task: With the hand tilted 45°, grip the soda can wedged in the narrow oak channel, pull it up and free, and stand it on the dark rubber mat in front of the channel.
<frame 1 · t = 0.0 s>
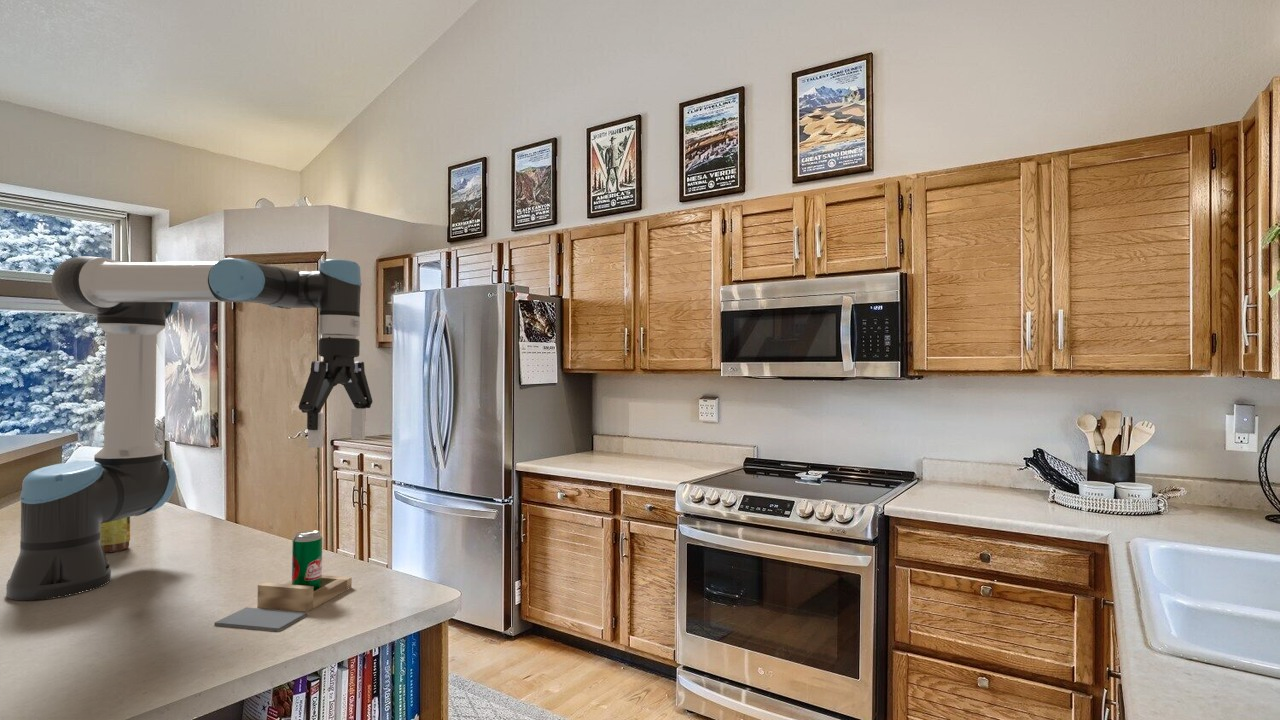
hand: (337, 443, 132), 28 cm above the counter, tool pointing down, fingers open, 13 cm apart
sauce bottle: (112, 550, 152), on the counter
soda can: (306, 598, 124), resting in oak channel
rubber mat: (261, 620, 112), on the counter
oak channel: (306, 597, 124), on the counter
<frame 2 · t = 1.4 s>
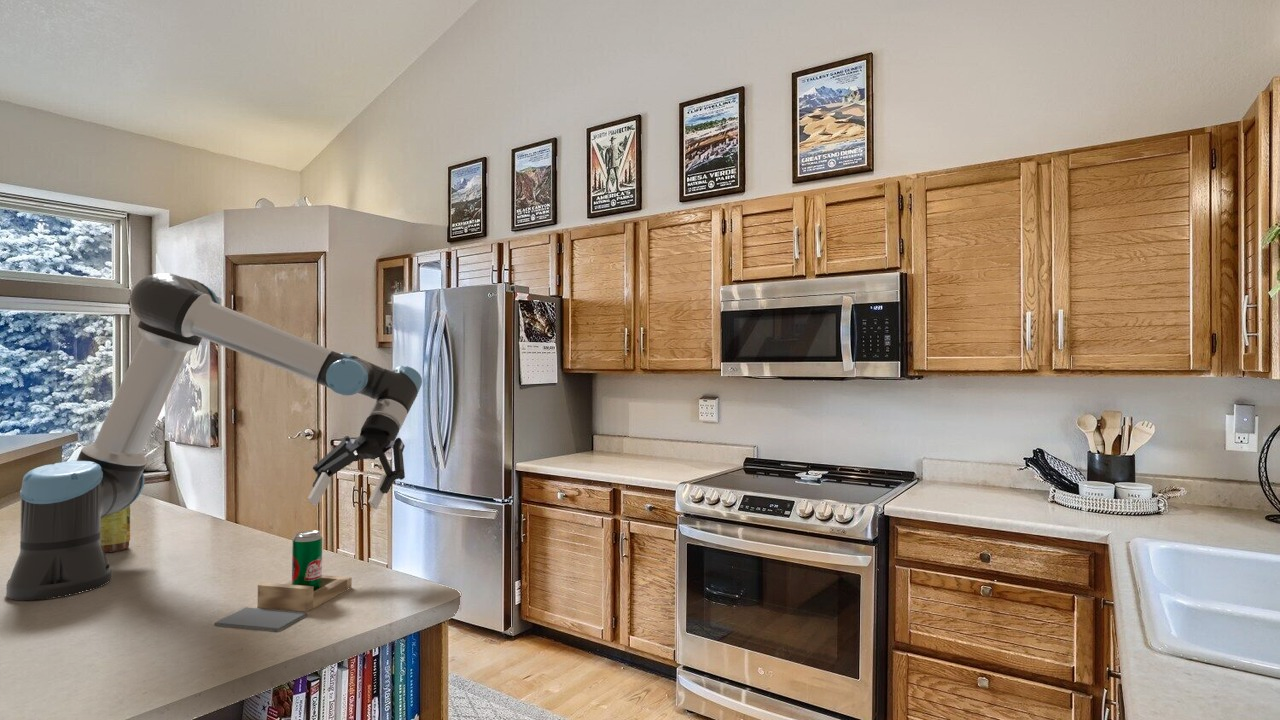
hand: (341, 503, 134), 15 cm above the counter, tool tilted 45°, fingers open, 13 cm apart
nothing on the counter moved.
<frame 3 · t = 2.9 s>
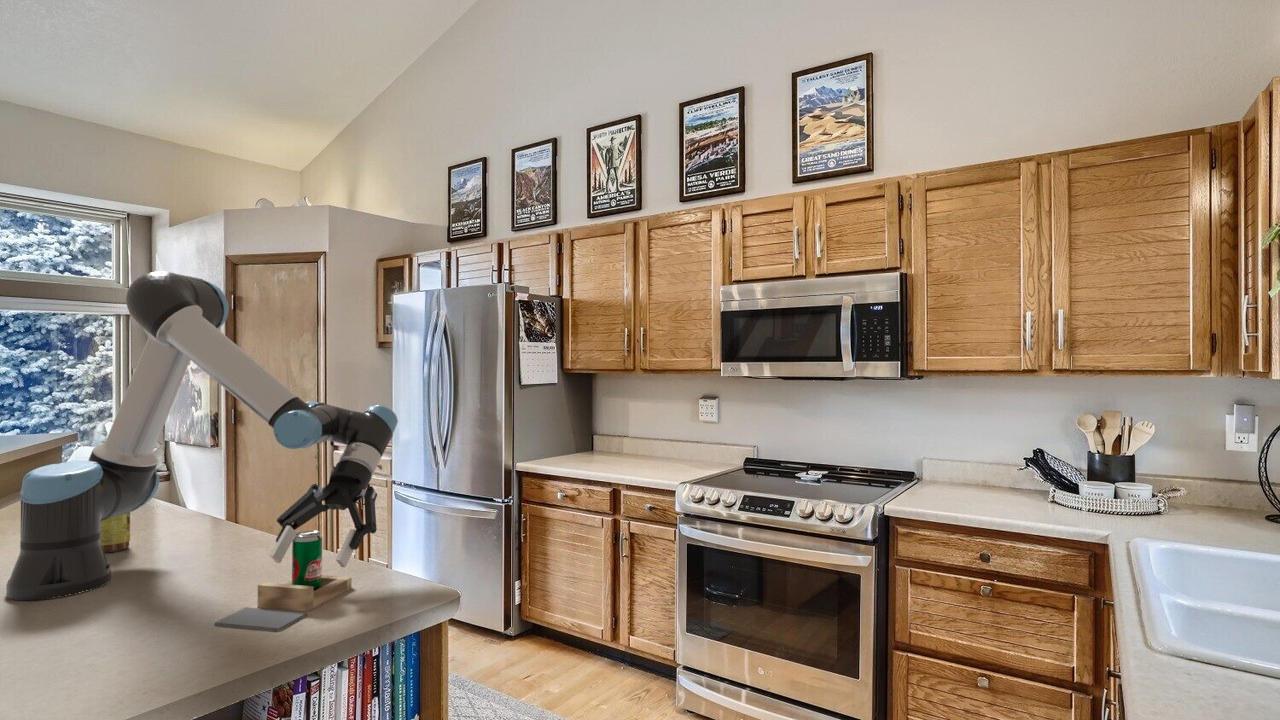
hand: (307, 561, 124), 7 cm above the counter, tool tilted 45°, fingers open, 13 cm apart
nothing on the counter moved.
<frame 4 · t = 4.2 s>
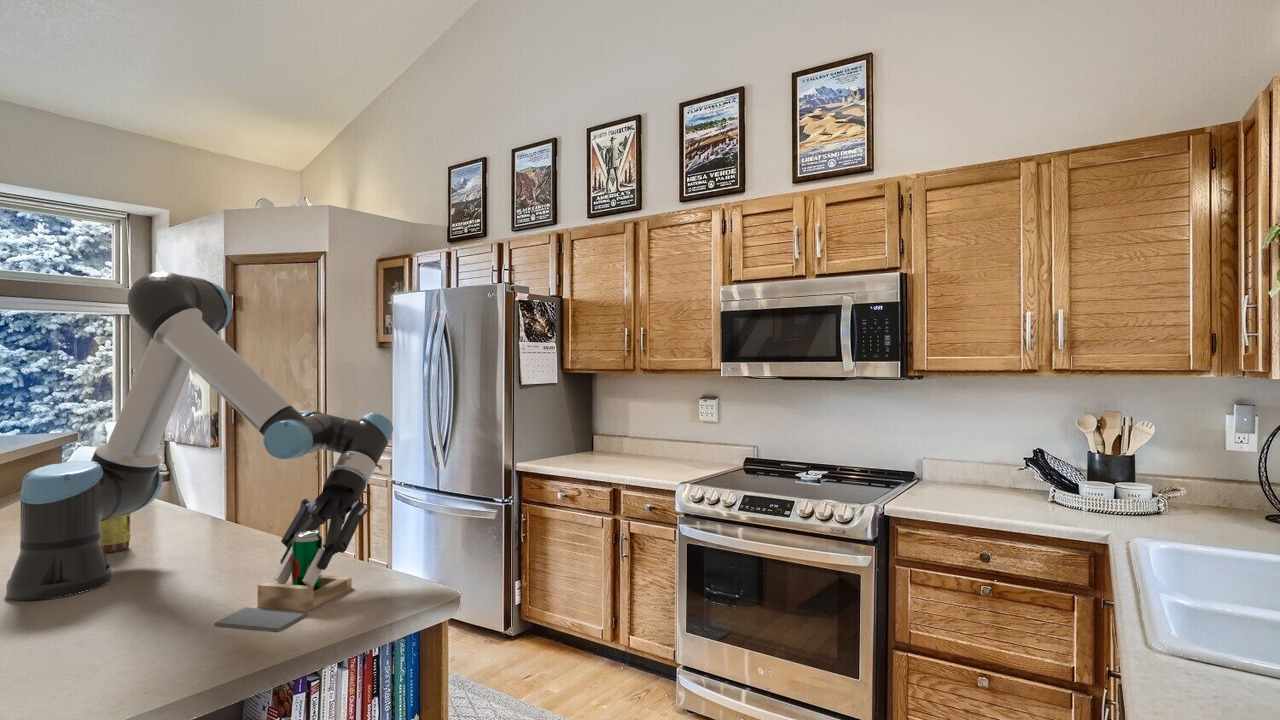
hand: (293, 583, 120), 4 cm above the counter, tool tilted 45°, fingers closed on soda can, 5 cm apart
soda can: (306, 598, 124), resting in oak channel, touching gripper
everything else where it was.
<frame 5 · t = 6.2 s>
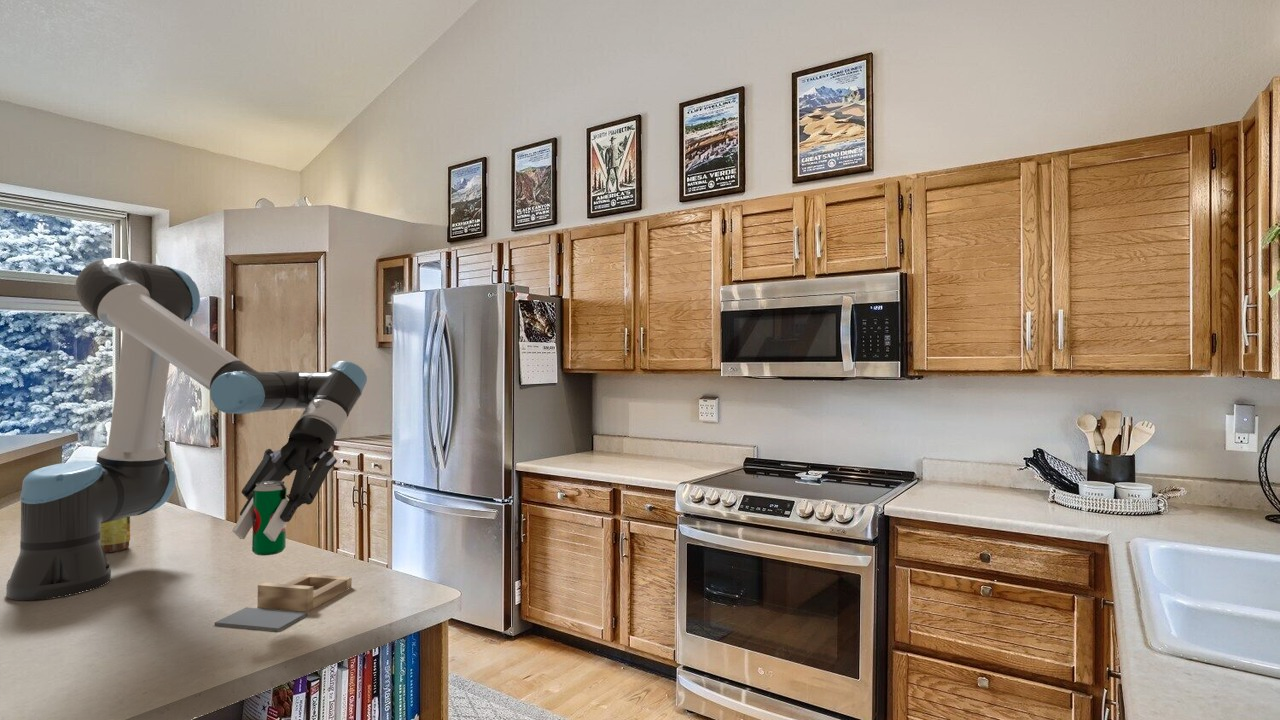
hand: (253, 535, 110), 15 cm above the counter, tool tilted 45°, fingers closed on soda can, 5 cm apart
soda can: (268, 553, 114), point 11 cm above the counter, touching gripper
everything else where it was.
when the fingers open (6 cm above the counter, at t = 8.3 s): soda can drops 1 cm, resting on rubber mat.
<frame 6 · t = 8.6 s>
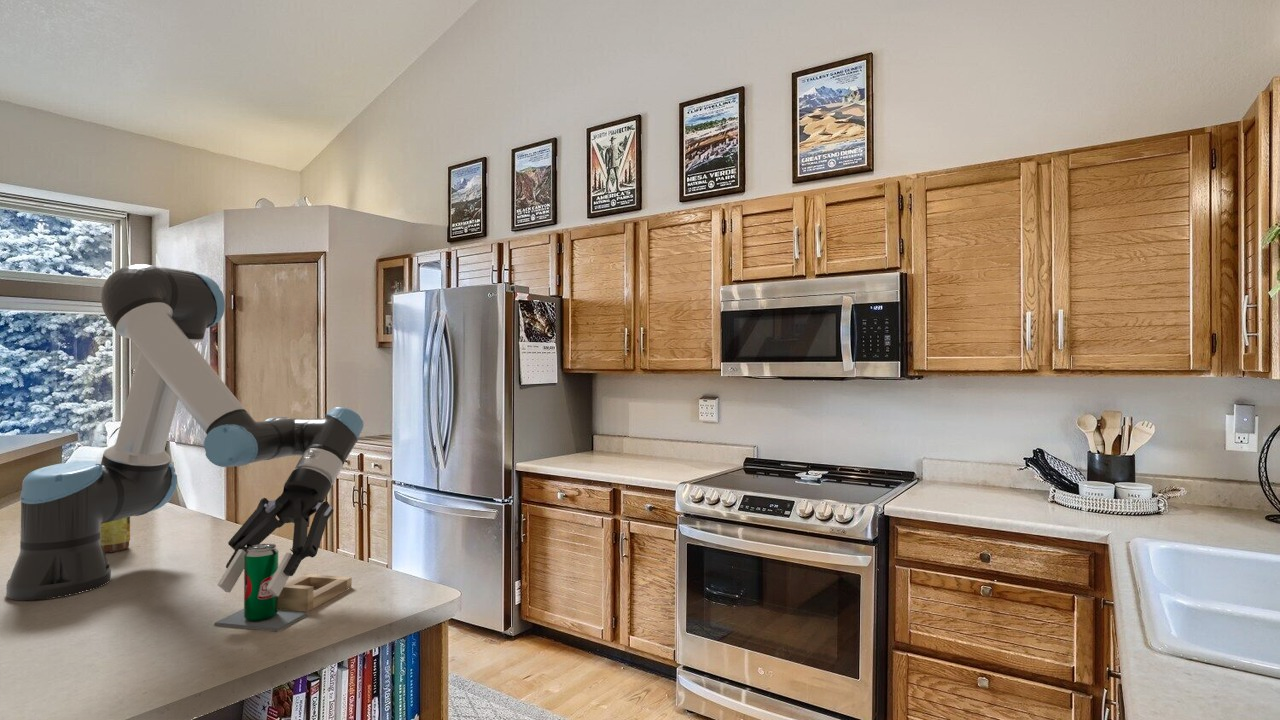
hand: (247, 590, 109), 6 cm above the counter, tool tilted 45°, fingers open, 8 cm apart
soda can: (261, 618, 113), resting on rubber mat
everything else where it was.
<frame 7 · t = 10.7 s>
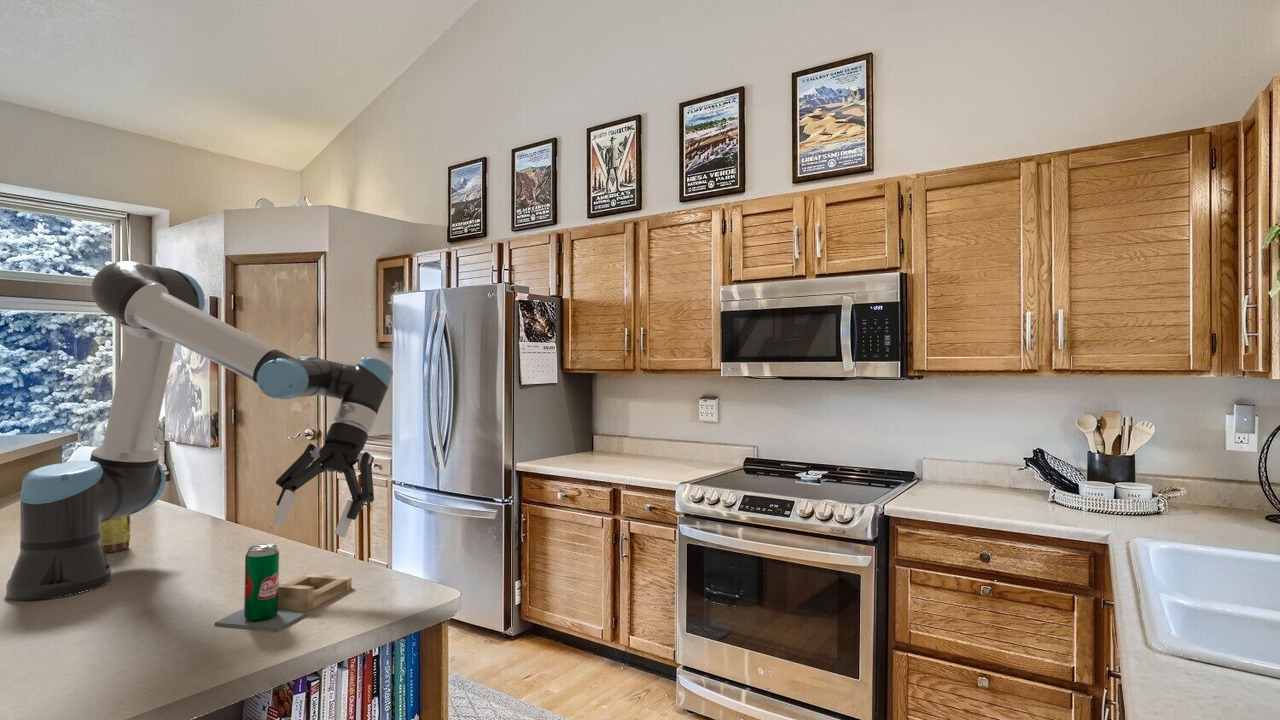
hand: (307, 529, 126), 12 cm above the counter, tool tilted 30°, fingers open, 13 cm apart
nothing on the counter moved.
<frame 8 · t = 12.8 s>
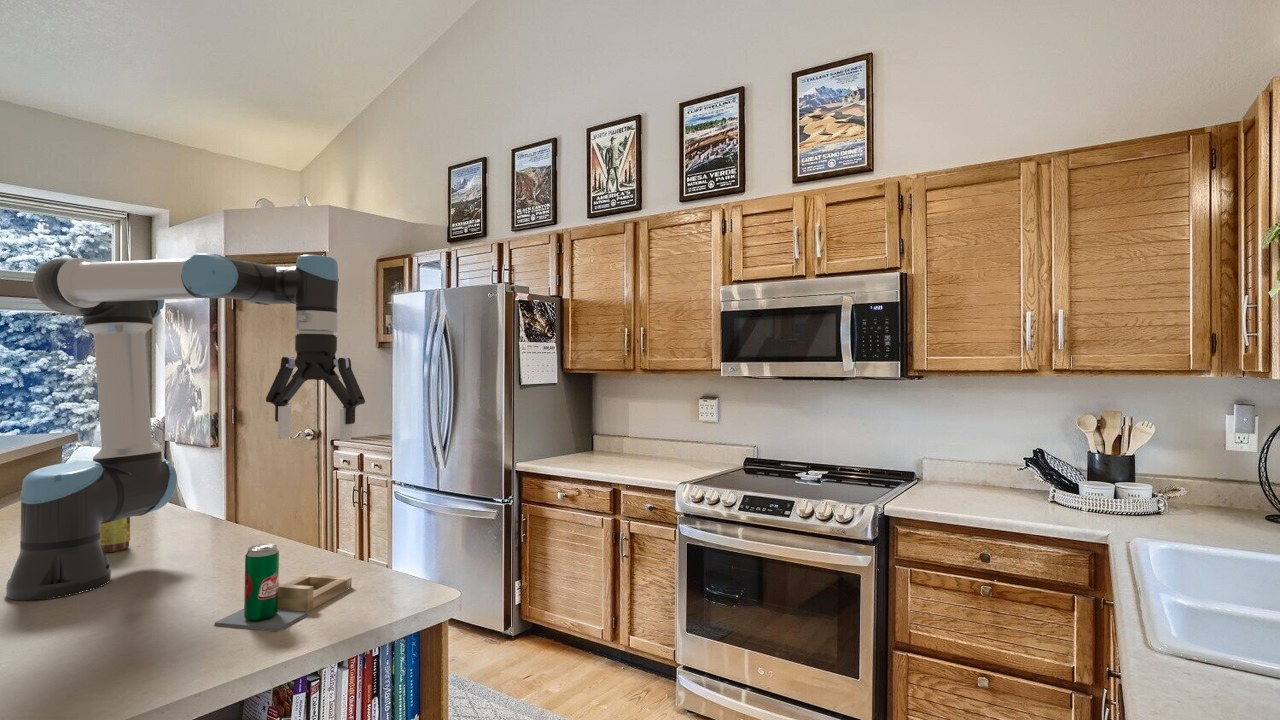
hand: (314, 439, 132), 29 cm above the counter, tool pointing down, fingers open, 13 cm apart
nothing on the counter moved.
at the end: soda can inside the target area (0.3 cm from its centre), resting on rubber mat; soda can tilted 0°; the gripper is holding nothing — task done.
